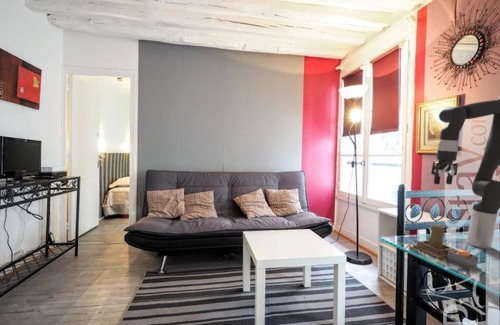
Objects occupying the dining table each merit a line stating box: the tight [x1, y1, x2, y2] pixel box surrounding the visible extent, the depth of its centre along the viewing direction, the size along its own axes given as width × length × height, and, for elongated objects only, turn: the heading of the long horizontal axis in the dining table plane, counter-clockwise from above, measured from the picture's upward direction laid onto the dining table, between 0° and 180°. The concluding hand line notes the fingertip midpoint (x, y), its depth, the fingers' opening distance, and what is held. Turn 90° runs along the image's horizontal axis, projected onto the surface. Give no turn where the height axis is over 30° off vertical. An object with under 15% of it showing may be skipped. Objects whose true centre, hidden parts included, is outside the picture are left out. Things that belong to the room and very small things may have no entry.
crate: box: [412, 239, 456, 259], centre depth 117 cm, size 12×12×3 cm
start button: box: [456, 248, 471, 257], centre depth 107 cm, size 4×4×3 cm
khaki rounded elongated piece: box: [427, 224, 446, 249], centre depth 117 cm, size 6×6×11 cm
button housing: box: [446, 249, 479, 269], centre depth 107 cm, size 7×7×4 cm
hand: (442, 184), depth 125 cm, fingers open, 8 cm apart
